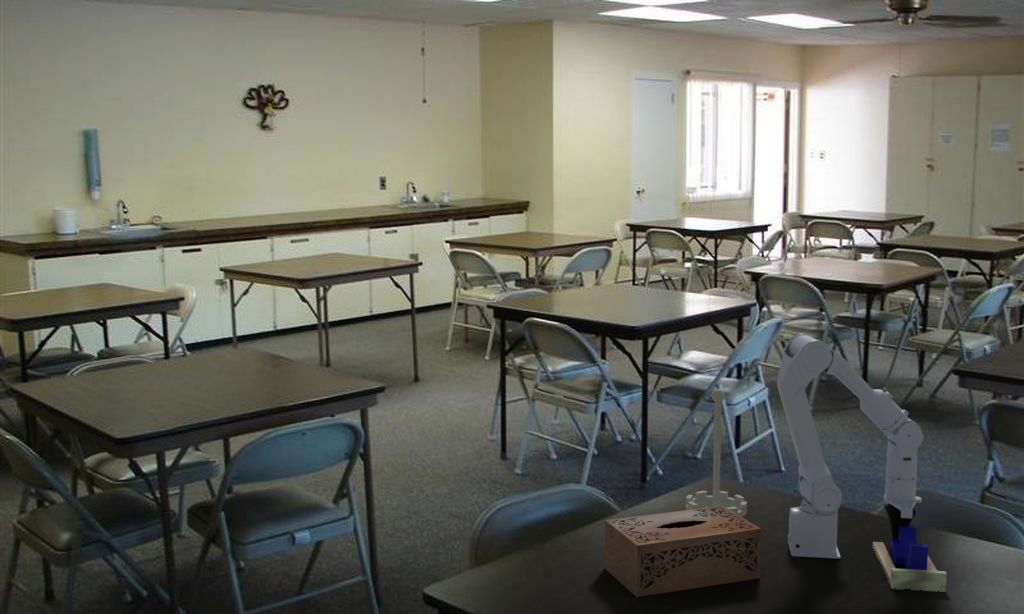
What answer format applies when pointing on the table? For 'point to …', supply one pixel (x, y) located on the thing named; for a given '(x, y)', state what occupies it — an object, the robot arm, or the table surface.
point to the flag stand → (717, 472)
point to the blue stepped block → (909, 549)
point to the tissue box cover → (682, 550)
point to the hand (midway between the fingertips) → (898, 541)
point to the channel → (910, 573)
